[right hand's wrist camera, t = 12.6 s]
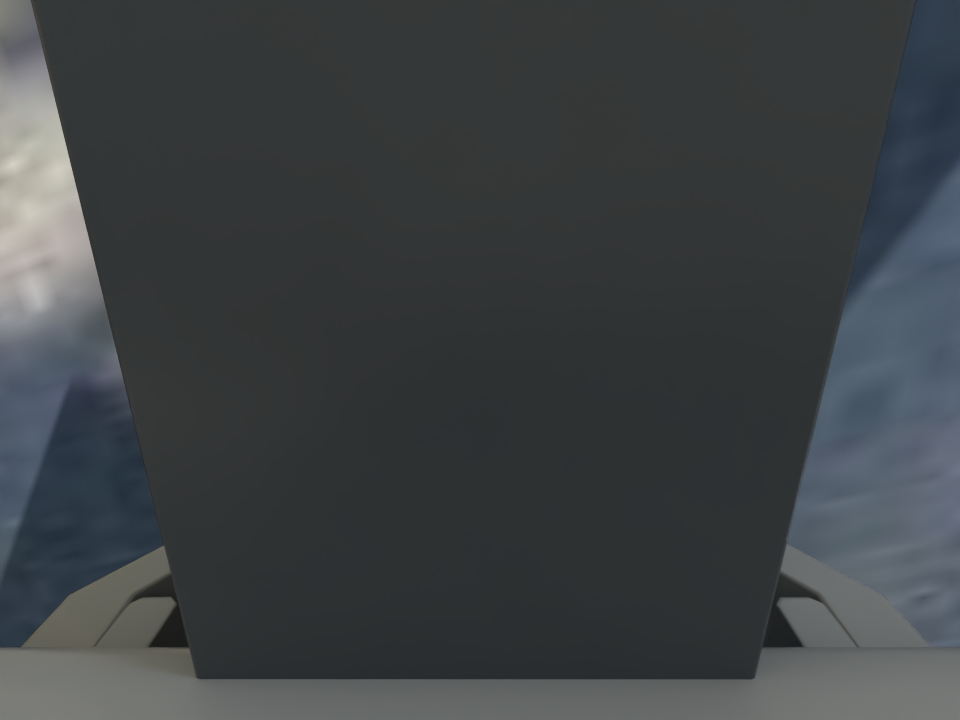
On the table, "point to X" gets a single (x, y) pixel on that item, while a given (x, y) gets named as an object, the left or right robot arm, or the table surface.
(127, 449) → the table surface
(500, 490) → the bar
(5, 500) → the table surface
